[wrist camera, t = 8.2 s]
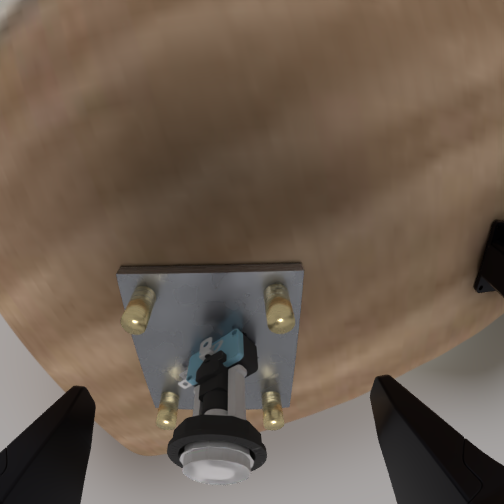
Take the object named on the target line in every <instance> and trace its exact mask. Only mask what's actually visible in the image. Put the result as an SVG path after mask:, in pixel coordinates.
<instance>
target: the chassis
mask: <svg viewBox="0 0 504 504" xmlns="http://www.w3.org/2000/svg"><path fill="white" fill-rule="evenodd" d="M116 276H117V280H118V284H119V289H120V293H121V297H122V301H123V305H124V309H125V311H124V314H123V316H122V318H121V325H122V327H123V329H124V330H125V331H127V332H128V333H130V334H132V338H133V341H134V345H135V348H136V351H137V354H138V358H139V361H140V364H141V367H142V370H143V373H144V376H145V379H146V382H147V385H148V388H149V391H150V394H151V397H152V399H153V402H154V405H155V408H159V409H158V414H157V420H156V425H157V426H158V427H159V428H161V429H164V430H173V429H174V428H175V426H176V419H177V412H178V409H193V408H194V398H195V394H194V388H195V387H194V386H193V385H192V386H190V387H188V388H186V389H184V388H182V387H181V386H180V385H178V382H180V381H182V380H184V379H183V378H182V377H181V376H179V374H180V373H182V372H184V371H186V370H187V368H188V366H189V360H190V357H191V356H192V355H194V354H195V353H197V352H199V351H200V344H201V343H202V342H203V341H204V340H206V339H207V338H209V337H212V343H214V342H215V341H217V340H219V339H220V338H222V337H224V336H225V335H227V334H228V333H230V332H231V331H232V330H234V329H238V330H239V331H240V332H242V333H243V334H244V335H245V336H246V337H247V338H248V339H249V340H250V341H251V342H252V343H254V344H255V345H256V346H257V358H258V370H257V371H256V372H255V373H253V374H252V375H250V376H248V377H246V378H245V405H246V409H262V410H263V422H264V428H265V429H267V430H278V429H280V428H282V427H283V426H284V419H283V411H282V408H285V407H289V406H290V399H291V391H292V383H293V375H294V367H295V358H296V349H297V340H298V330H299V320H300V310H301V299H302V288H303V276H304V269H303V267H302V264H301V263H281V264H242V265H197V266H140V267H120V269H119V270H118V272H117V274H116ZM207 345H208V342H207V343H206V344H205V345H204V347H206V346H207ZM184 375H185V376H187V374H184ZM183 384H184V385H188V383H186V382H184V383H183Z"/></svg>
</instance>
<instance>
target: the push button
mask: <svg viewBox="0 0 504 504" xmlns="http://www.w3.org/2000/svg"><path fill="white" fill-rule="evenodd" d="M207 342H208V345H207V346H206V347H204V345H205V344H206V343H207ZM257 370H258V358H257V346H256V345H255V344H254V343H252V342H251V341H250V340H249V339H248V338H247V337H246V336H245V335H244V334H243V333H242V332H240V331H239V330H238V329H234V330H232V331H231V332H230V333H228V334H227V335H225V336H224V337H222V338H220V339H219V340H217V341H215V342H214V343H212V337H209V338H207V339H206V340H204V341H203V342H202V343H201V344H200V351H199V352H197V353H195V354H194V355H192V356H191V357H190V360H189V366H188V368H187V370H186V371H184V372H182V373H180V374H179V376H181V377H182V378H183V379H184V380H182V381H180V382H178V385H180V386H181V387H182V388H184V389H186V388H188V387H190V386H192V385H193V386H194V387H195V388H194V394H195V398H194V408H193V417H189V418H186V419H185V420H184V421H183V422H182V423H181V424H180V425H179V426H178V427H177V428H176V429H175V430H174V434H173V438H172V439H171V440H170V441H169V443H168V449H167V454H168V456H169V458H170V459H171V461H173V462H174V463H175V464H177V465H178V466H180V467H181V468H183V473H184V474H185V475H186V476H187V477H188V478H190V479H192V480H195V481H197V482H201V483H205V484H212V485H228V484H234V483H239V482H241V481H244V480H246V479H248V477H249V476H250V474H251V471H253V470H255V469H257V468H259V467H260V466H262V465H263V464H264V462H265V461H266V458H267V453H266V448H265V446H264V444H263V443H262V441H261V434H260V433H259V432H258V431H257V430H256V429H255V428H254V427H253V426H252V424H251V423H250V422H249V421H247V420H246V405H245V378H246V377H248V376H250V375H252V374H253V373H255V372H256V371H257ZM184 374H187V376H185V375H184ZM184 382H186V383H188V385H184V384H183V383H184Z"/></svg>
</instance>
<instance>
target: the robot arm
mask: <svg viewBox="0 0 504 504" xmlns="http://www.w3.org/2000/svg"><path fill="white" fill-rule="evenodd" d="M497 226H498V227H497ZM474 289H475V290H476V291H477V292H478V293H482V292H489V291H497V292H498V293H499V294H500V295H501V296H503V297H504V221H501V220H496V221H495V222H494V223H493V225H492V228H491V232H490V236H489V240H488V244H487V247H486V251H485V254H484V258H483V261H482V265H481V268H480V271H479V274H478V277H477V281H476V284H475V287H474ZM370 400H371V405H372V410H373V415H374V420H375V426H376V431H377V436H378V440H379V444H380V447H381V450H382V454H383V457H384V460H385V463H386V466H387V469H388V473H389V477H390V480H391V483H392V487H393V490H394V493H395V497H396V501H397V504H504V466H503V465H502V464H500V463H498V462H497V461H495V460H494V459H492V458H490V457H489V456H488V455H486V454H485V453H483V452H482V451H481V450H479V449H478V448H477V447H476V446H474V445H473V444H472V443H471V442H469V441H468V440H467V439H464V437H463V436H462V435H461V434H460V433H458V432H457V431H456V430H455V429H454V428H452V427H451V426H450V425H448V423H446V422H445V421H444V420H443V419H442V418H440V417H439V416H438V415H437V414H436V413H434V412H433V411H432V410H431V409H430V408H428V407H427V406H426V405H425V404H424V403H422V402H421V401H420V400H419V399H418V398H416V397H415V396H414V395H413V394H411V393H410V392H409V391H408V390H407V389H406V388H404V387H403V386H402V385H401V384H399V383H398V382H397V381H396V380H395V379H394V378H392V377H391V376H390V375H382V376H377V377H376V378H375V380H374V383H373V386H372V390H371V393H370ZM95 409H96V407H95V402H94V400H93V398H92V397H91V395H90V393H89V392H88V390H87V388H86V387H84V386H73V387H72V388H71V389H69V390H68V391H67V392H66V393H65V394H64V395H63V396H62V397H61V398H60V399H58V400H57V401H56V402H55V403H54V404H53V405H52V406H51V407H50V408H48V409H47V410H46V411H45V412H44V413H43V414H42V415H41V416H40V417H39V418H37V419H36V420H35V421H34V422H33V423H32V424H31V425H30V426H29V427H28V428H26V429H25V430H24V431H23V432H22V433H21V434H20V435H19V436H18V437H17V438H16V439H14V440H13V441H12V442H11V443H10V444H9V445H8V446H7V448H5V449H4V450H2V451H1V452H0V504H80V502H81V497H82V491H83V485H84V480H85V475H86V469H87V464H88V459H89V455H90V450H91V443H92V433H93V425H94V417H95Z"/></svg>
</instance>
